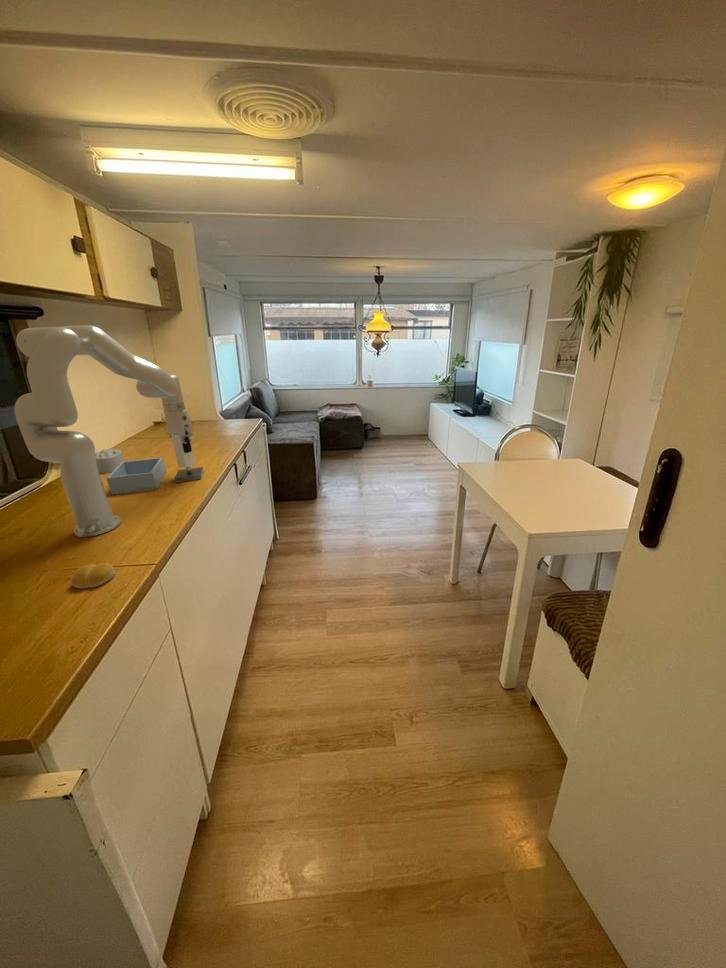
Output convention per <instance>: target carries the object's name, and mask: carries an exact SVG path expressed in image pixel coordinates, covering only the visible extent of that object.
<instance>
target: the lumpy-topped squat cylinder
mask: <svg viewBox="0 0 726 968" xmlns="http://www.w3.org/2000/svg"><path fill="white" fill-rule="evenodd" d="M95 456H96V463H97V468H98V471H99V472H100V473H99V474H101V473H110V474H111V473H112V472H113V471H114V470H115V469H116V468H117V466H118V465H119V464H120V463H121V462H125V460H124V459H125V458H124V455H123V454H122V450H121V449H117V448H110V449H102V450H101V451H97V452H96V451H95Z"/></svg>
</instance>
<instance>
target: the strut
mask: <svg viewBox="0 0 726 968" xmlns="http://www.w3.org/2000/svg"><path fill="white" fill-rule="evenodd" d="M185 435H186V434H185ZM171 437H172V438H171ZM171 437H170V438H171V441H172V444H173V448H174V449H173V450H174V454H175V458H176V462H177V466H178V467H180V468H184V469H186V468H187V467H190V466H191V467H193V466H195V465H197V464H196V459H195V454H194V450H193V445H192V441H191V442H190V444H191V449H192V451H191V452H188V453H184V448H183V440H182V437H181V436H180V435H177V434H171ZM184 438H185V439H186V437H184ZM191 467H190V468H191Z"/></svg>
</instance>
